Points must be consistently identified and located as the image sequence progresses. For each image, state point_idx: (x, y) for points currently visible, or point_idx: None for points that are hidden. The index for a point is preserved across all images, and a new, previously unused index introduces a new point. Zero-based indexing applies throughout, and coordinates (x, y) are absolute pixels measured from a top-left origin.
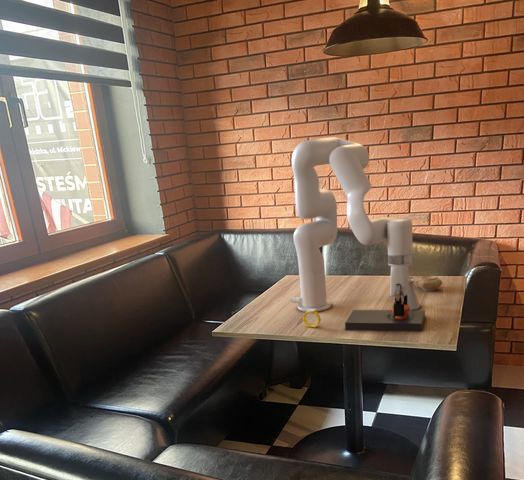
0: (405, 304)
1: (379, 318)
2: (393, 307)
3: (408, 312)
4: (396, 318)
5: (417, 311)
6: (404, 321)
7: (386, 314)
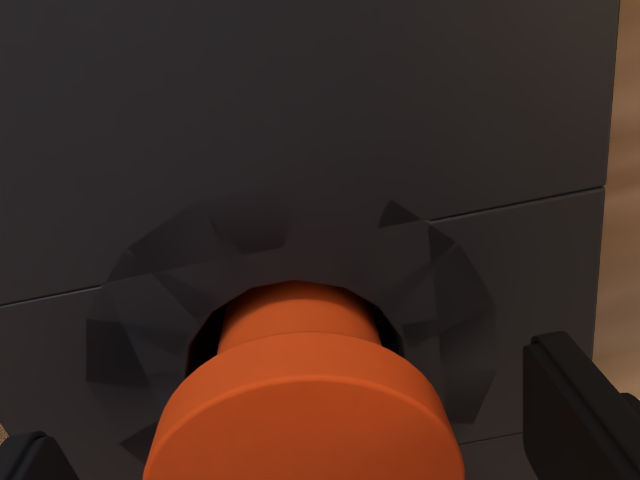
0: (544, 471)
1: (94, 113)
2: (242, 412)
3: (485, 403)
4: (223, 339)
5: (530, 471)
6: (110, 465)
7: (349, 157)
